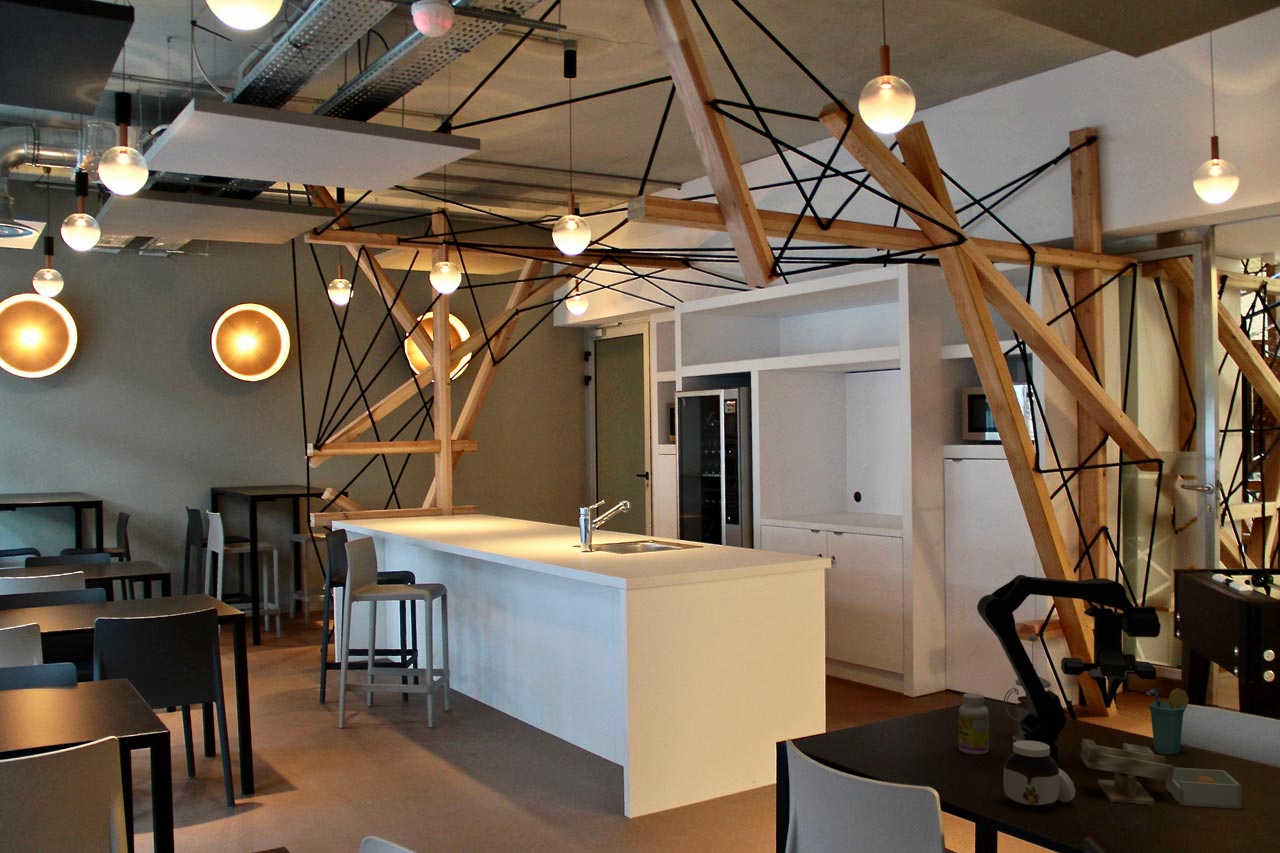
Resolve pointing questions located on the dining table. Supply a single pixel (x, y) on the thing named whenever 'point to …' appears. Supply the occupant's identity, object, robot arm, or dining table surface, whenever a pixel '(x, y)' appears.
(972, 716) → the supplement bottle
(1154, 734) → the cup
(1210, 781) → the ball
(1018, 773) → the spread jar
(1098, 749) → the lever
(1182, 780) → the tray
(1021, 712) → the french press
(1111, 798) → the stand
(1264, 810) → the dining table surface
